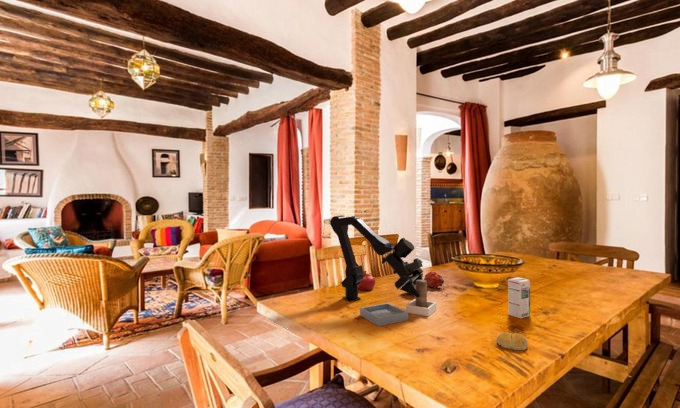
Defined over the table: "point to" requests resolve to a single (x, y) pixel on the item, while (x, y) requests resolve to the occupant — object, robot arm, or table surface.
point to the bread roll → (512, 341)
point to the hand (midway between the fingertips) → (423, 294)
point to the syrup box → (519, 297)
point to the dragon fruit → (434, 280)
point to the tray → (383, 314)
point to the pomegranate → (367, 282)
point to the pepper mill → (421, 293)
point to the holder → (421, 308)
